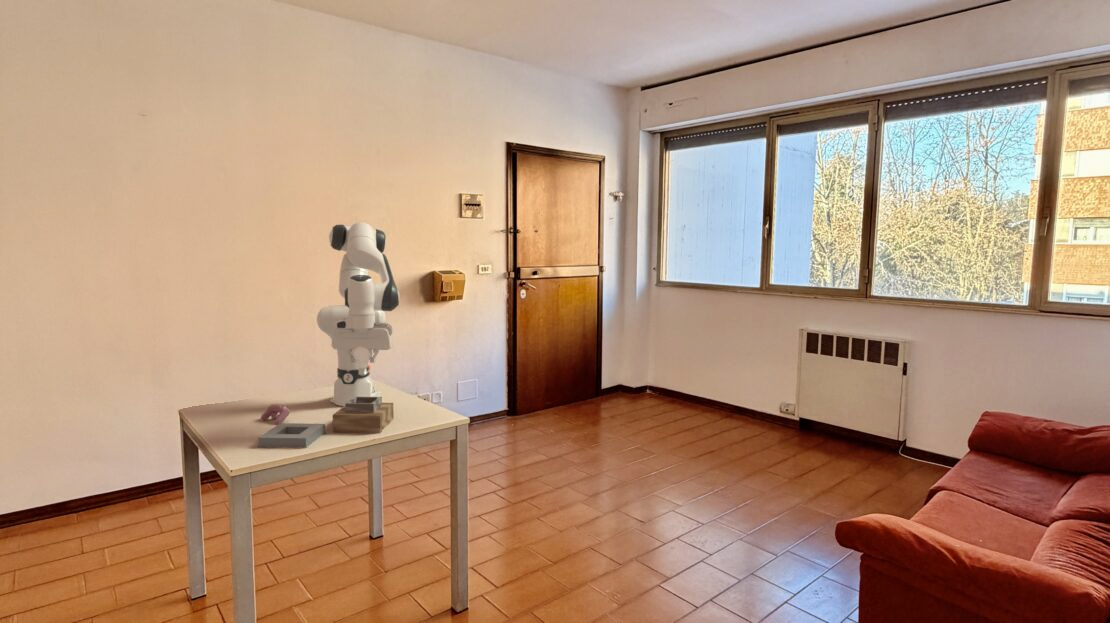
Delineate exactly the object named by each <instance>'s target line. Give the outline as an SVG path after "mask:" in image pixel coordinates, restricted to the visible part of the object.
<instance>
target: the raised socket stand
mask: <svg viewBox="0 0 1110 623" xmlns="http://www.w3.org/2000/svg"><path fill="white" fill-rule="evenodd" d="M394 414H395V413H394V402H383V399H382V396H380V397H354V398H352V399H351V400H350V401H348V402H347V403H346V404H345V406H341V408H340V409H338V410H337V411H335V412H334V413H333V414H332V433H358V434H359V433H363V434H365V433H367V434H369V433H370V434H371V433H372V434H376V433H377V434H378V433H379V434H381V433H382V432H383V431H384V430H385V429H386V428H387V426H388V425H389V424H391V422H392V421H394ZM385 427H386V428H385ZM384 428H385V429H384ZM383 429H384V430H383ZM382 430H383V431H382Z"/></svg>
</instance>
